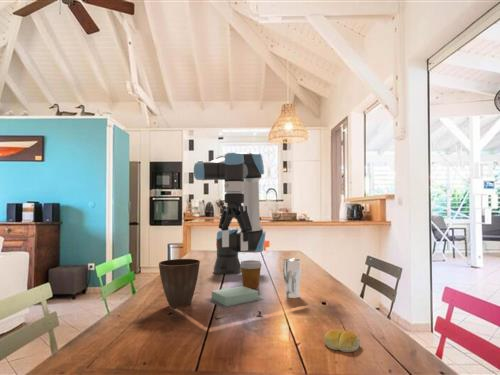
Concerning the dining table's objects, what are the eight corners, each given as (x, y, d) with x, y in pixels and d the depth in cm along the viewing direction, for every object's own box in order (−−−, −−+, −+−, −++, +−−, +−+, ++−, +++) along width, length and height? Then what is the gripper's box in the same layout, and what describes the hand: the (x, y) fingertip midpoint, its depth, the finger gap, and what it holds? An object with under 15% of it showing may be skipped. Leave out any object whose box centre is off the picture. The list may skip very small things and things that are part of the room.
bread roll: (330, 337, 97) (329, 323, 97) (362, 344, 92) (362, 329, 92) (319, 348, 90) (318, 332, 90) (353, 356, 85) (353, 339, 85)
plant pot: (149, 309, 122) (150, 264, 123) (173, 298, 136) (173, 257, 137) (186, 314, 117) (186, 266, 118) (207, 302, 131) (206, 259, 132)
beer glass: (303, 297, 137) (303, 258, 138) (298, 301, 131) (297, 261, 131) (286, 295, 140) (286, 257, 141) (281, 299, 134) (280, 260, 134)
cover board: (211, 299, 131) (211, 291, 132) (242, 293, 139) (242, 285, 139) (226, 306, 122) (226, 297, 123) (258, 299, 130) (258, 291, 130)
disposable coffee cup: (262, 287, 153) (262, 260, 153) (261, 293, 143) (261, 264, 144) (241, 287, 154) (241, 260, 154) (238, 292, 144) (238, 263, 145)
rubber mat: (205, 301, 132) (205, 299, 132) (244, 294, 142) (244, 291, 142) (223, 311, 120) (223, 308, 120) (264, 302, 130) (264, 299, 130)
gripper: (210, 193, 141) (210, 246, 140) (243, 191, 120) (244, 253, 119) (226, 194, 145) (226, 244, 144) (261, 192, 124) (261, 251, 123)
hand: (234, 248), depth 132 cm, fingers open, 13 cm apart
